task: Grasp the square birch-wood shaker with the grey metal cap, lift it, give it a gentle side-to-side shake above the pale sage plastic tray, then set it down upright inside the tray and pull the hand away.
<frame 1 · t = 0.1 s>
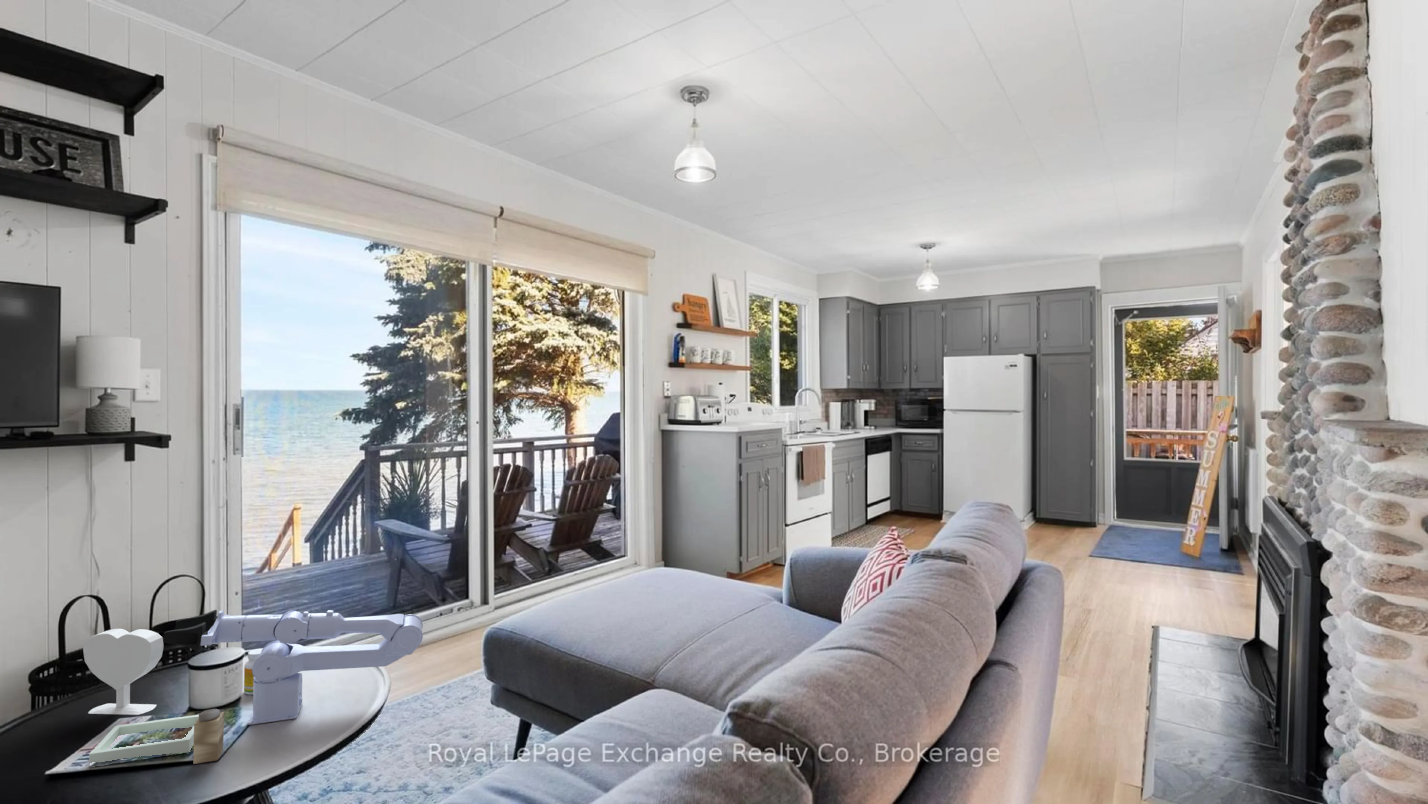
hand: (170, 630, 147), 22 cm above the table, tool horizontal, fingers open, 7 cm apart
shaker: (208, 756, 137), on the table
heart sculpture: (122, 709, 156), on the table
tray: (151, 745, 140), on the table
supplement bottle: (257, 691, 167), on the table
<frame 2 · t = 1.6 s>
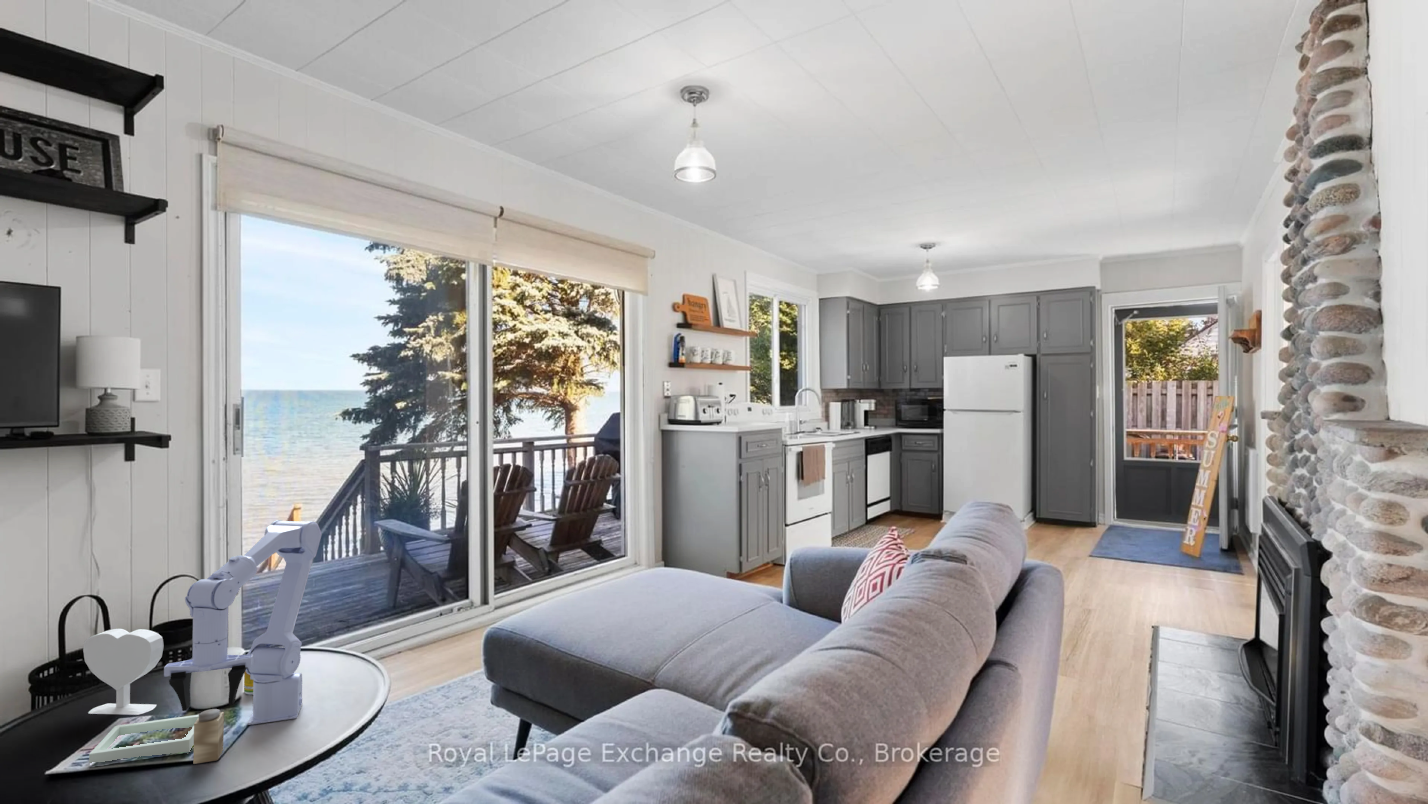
hand: (209, 705, 137), 10 cm above the table, tool pointing down, fingers open, 7 cm apart
nothing on the table moved.
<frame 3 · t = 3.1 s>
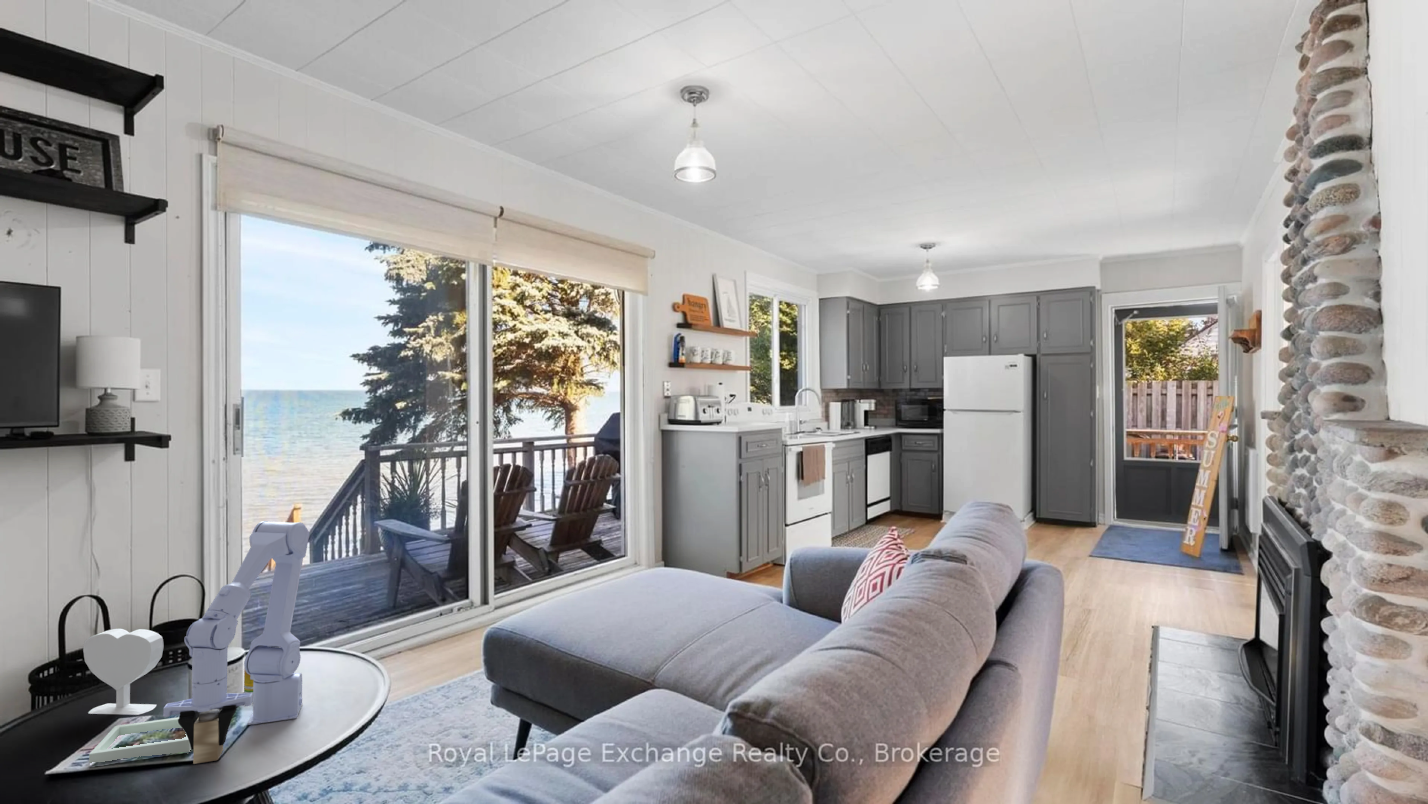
hand: (208, 744, 137), 2 cm above the table, tool pointing down, fingers closed on shaker, 4 cm apart
shaker: (208, 756, 137), on the table, touching gripper
everything else where it was.
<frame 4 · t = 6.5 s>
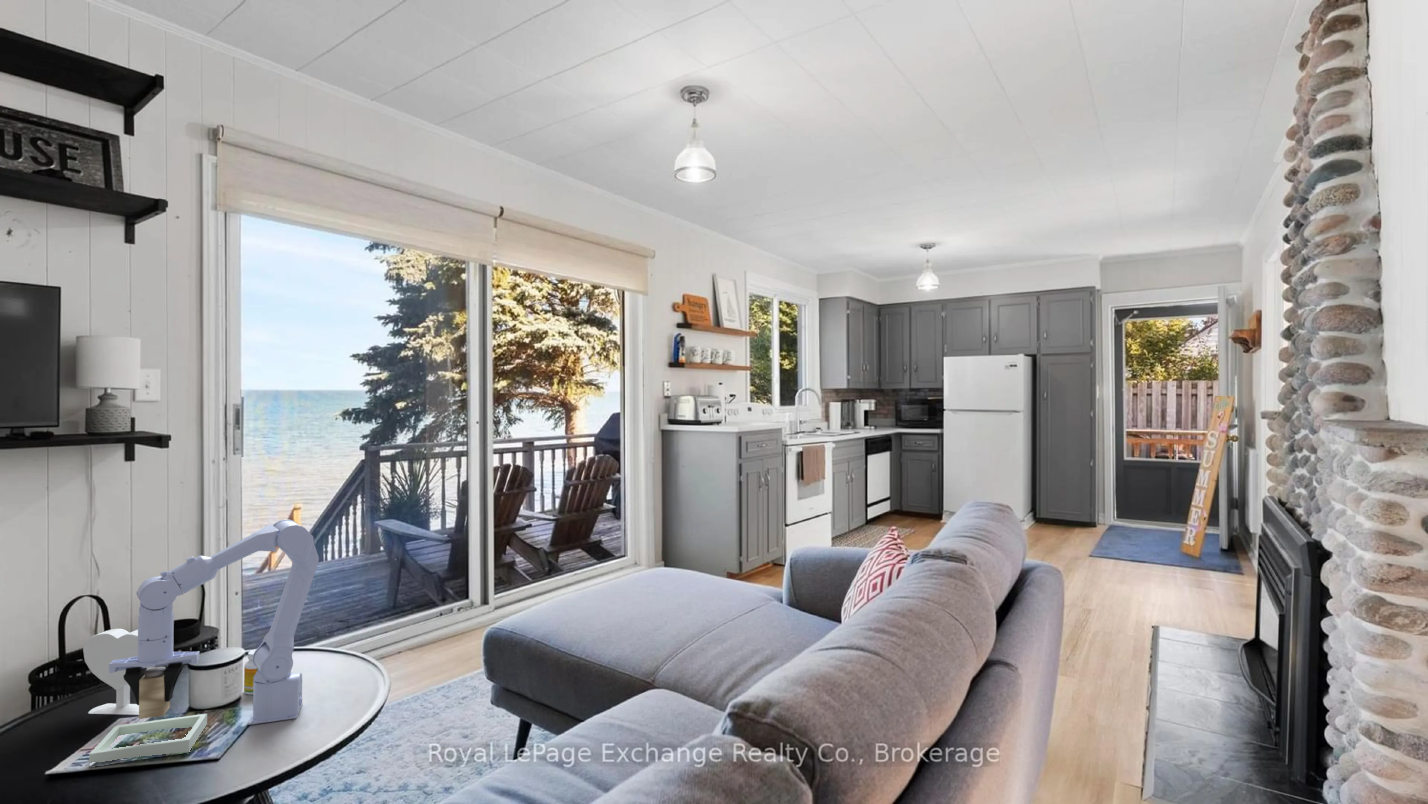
hand: (154, 701, 140), 9 cm above the table, tool pointing down, fingers closed on shaker, 4 cm apart
shaker: (154, 712, 140), point 7 cm above the table, touching gripper
everything else where it was.
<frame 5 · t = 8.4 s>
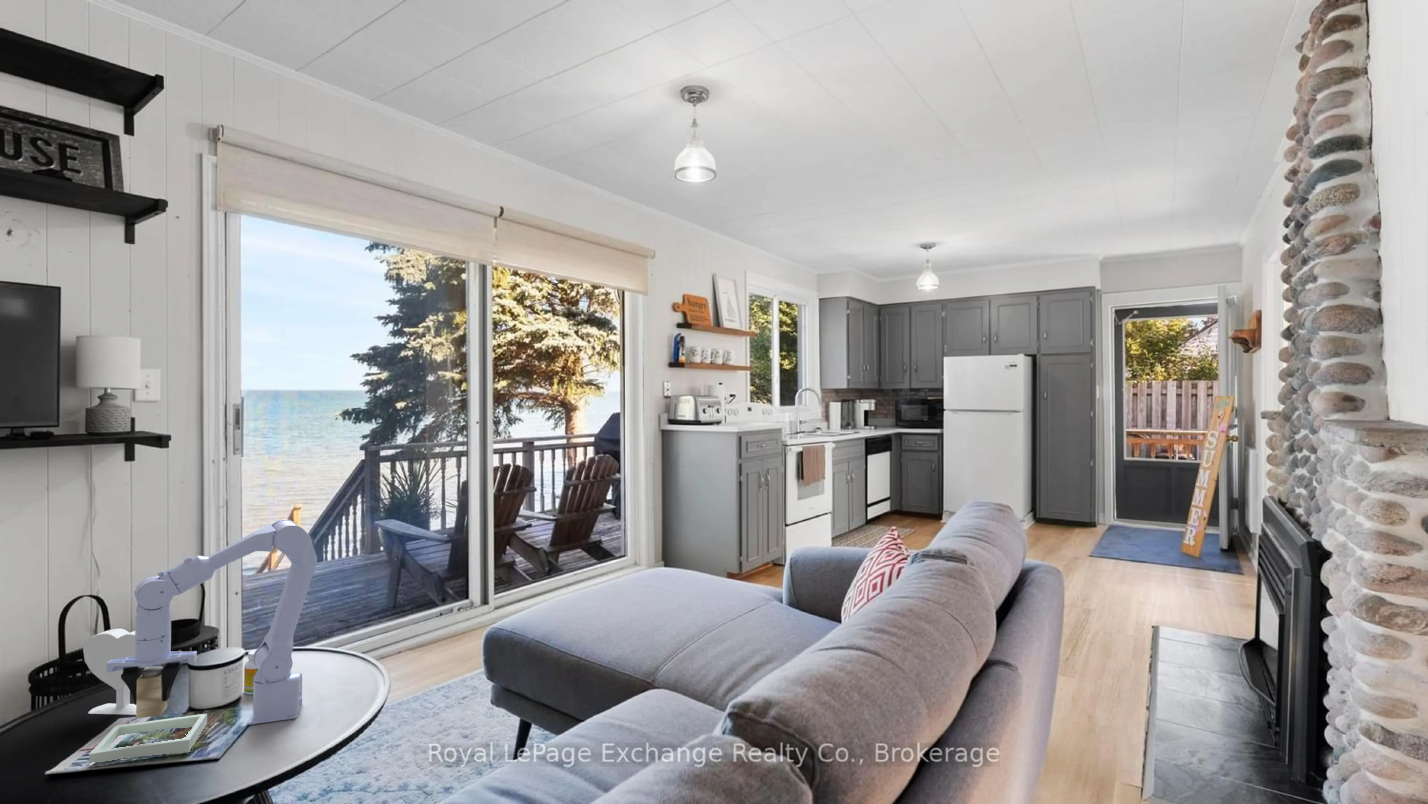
hand: (152, 700, 140), 9 cm above the table, tool pointing down, fingers closed on shaker, 4 cm apart
shaker: (152, 712, 140), point 7 cm above the table, touching gripper
everything else where it was.
when the fingers open (4 cm above the table, at t = 10.2 s): shaker stays where it is, resting on tray.
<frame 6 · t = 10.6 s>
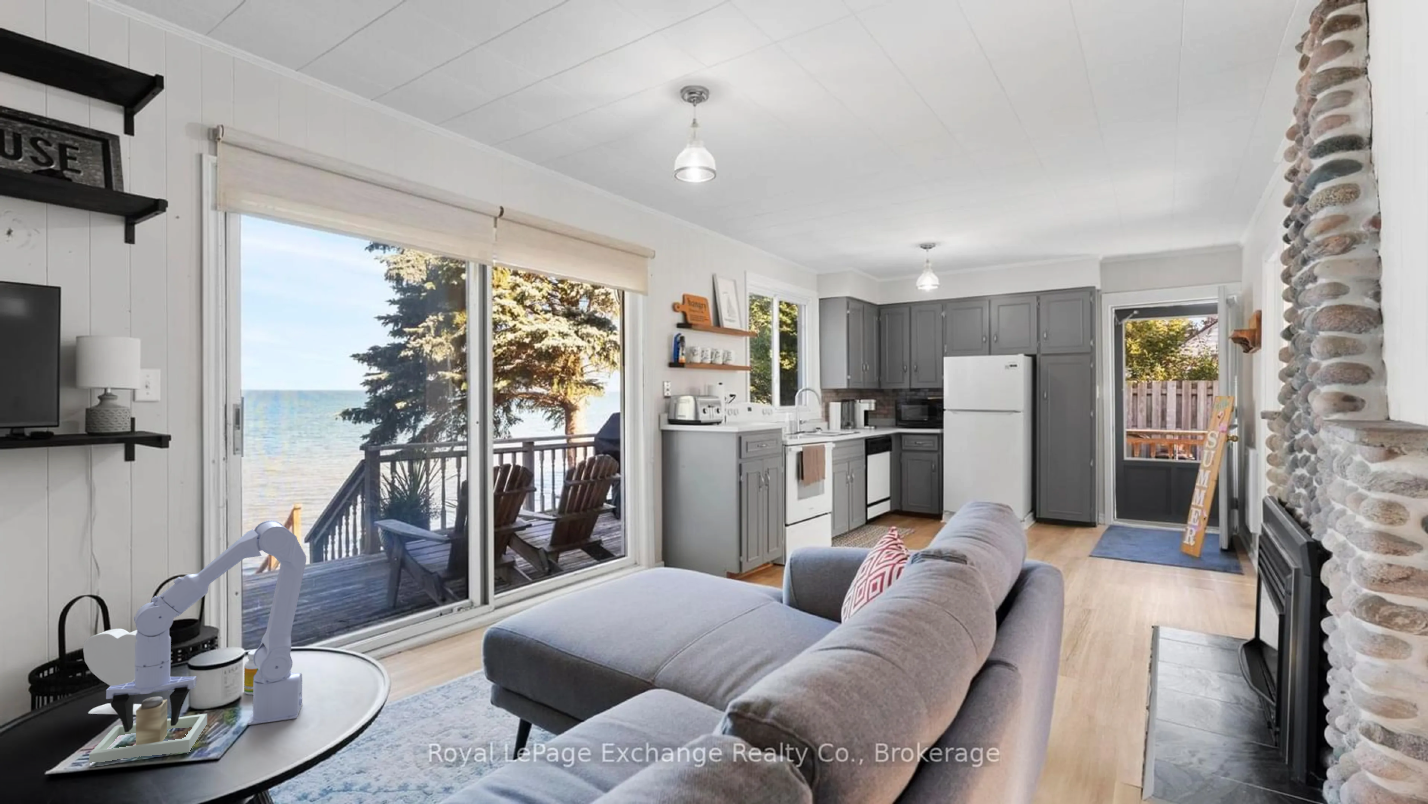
hand: (151, 726, 140), 4 cm above the table, tool pointing down, fingers open, 7 cm apart
shaker: (151, 742, 140), point 1 cm above the table, touching tray
everything else where it was.
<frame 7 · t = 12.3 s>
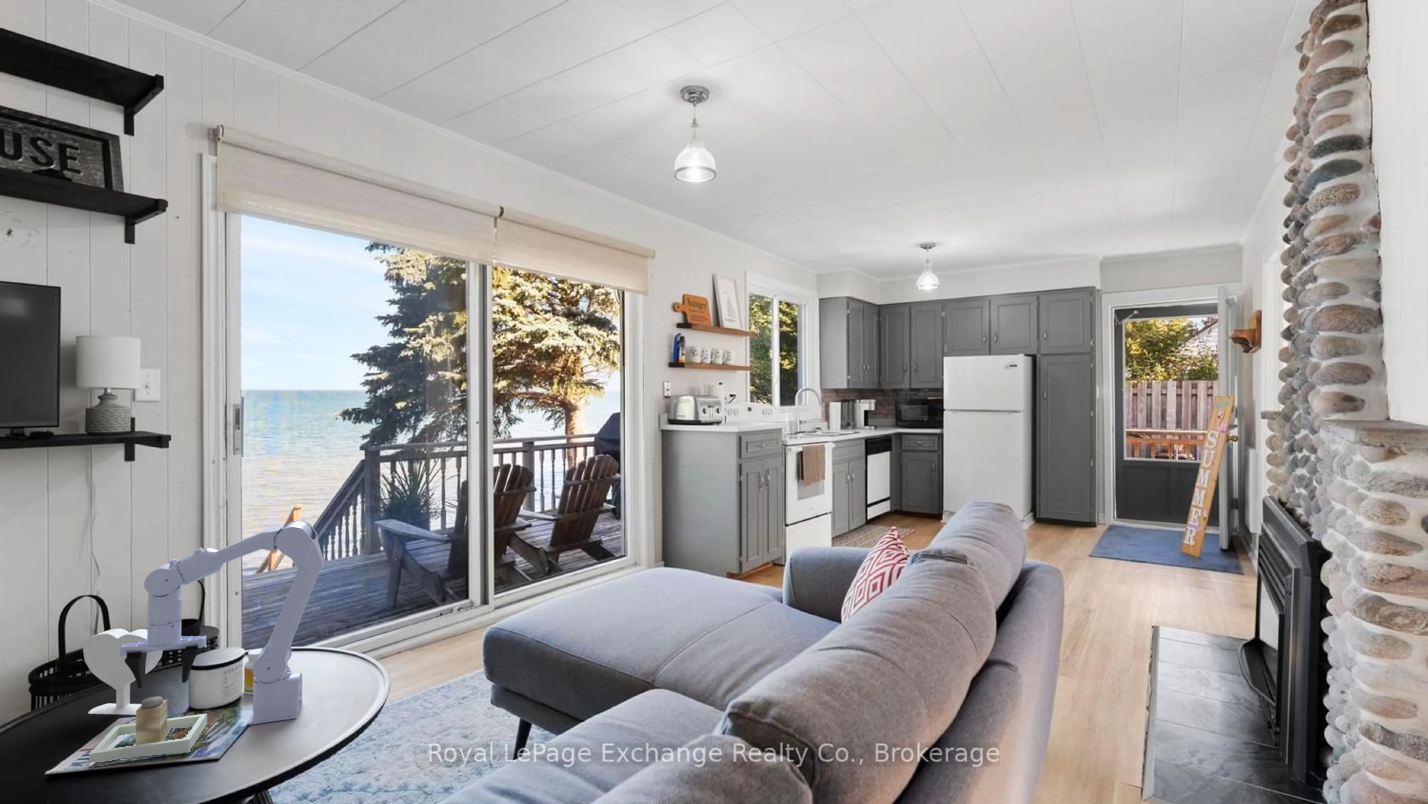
hand: (163, 683, 146), 10 cm above the table, tool pointing down, fingers open, 7 cm apart
nothing on the table moved.
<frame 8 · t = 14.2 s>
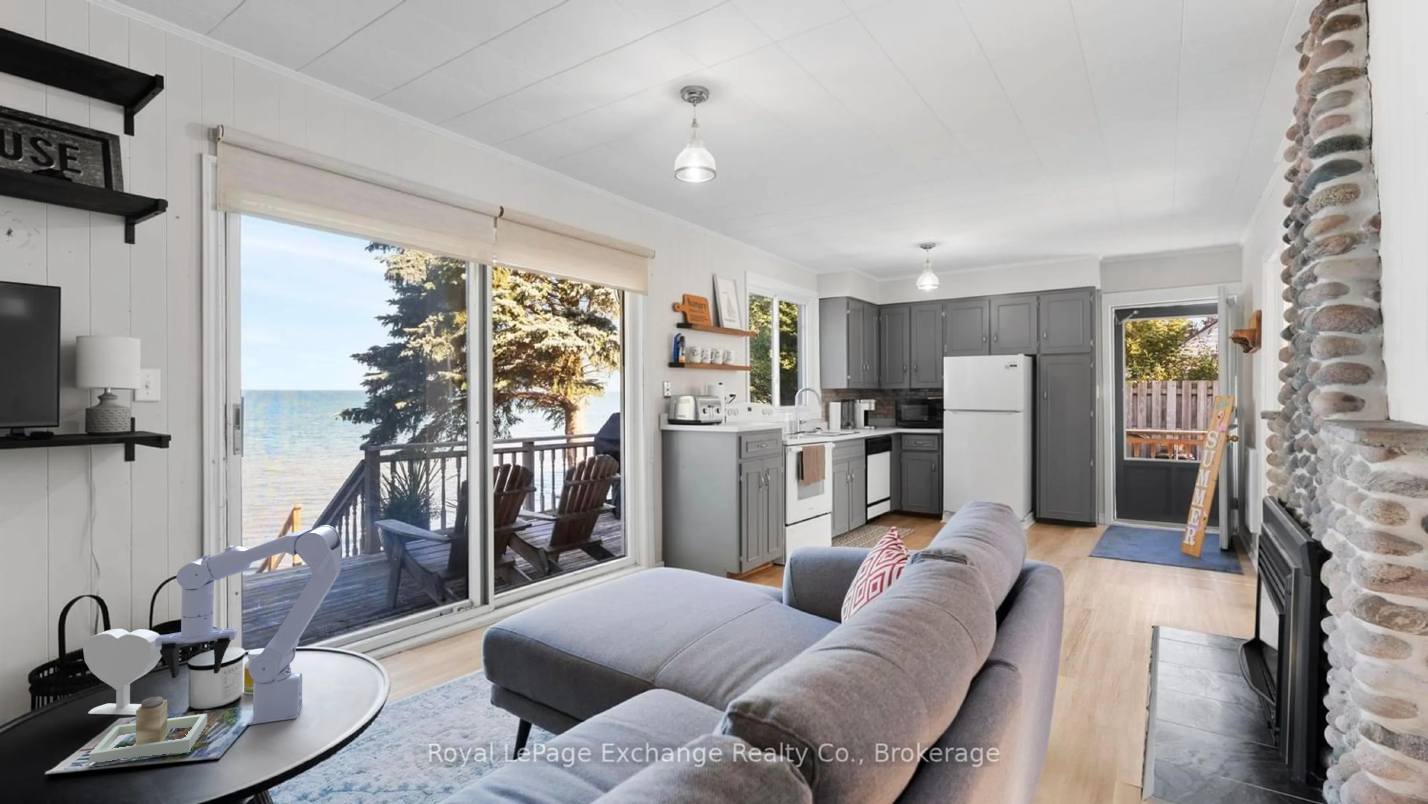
hand: (196, 673, 151), 10 cm above the table, tool pointing down, fingers open, 7 cm apart
nothing on the table moved.
at the end: shaker inside the target area on the tray (0.1 cm from its centre), point 0.6 cm above the tray's base; shaker tilted 0°; the gripper is holding nothing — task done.
